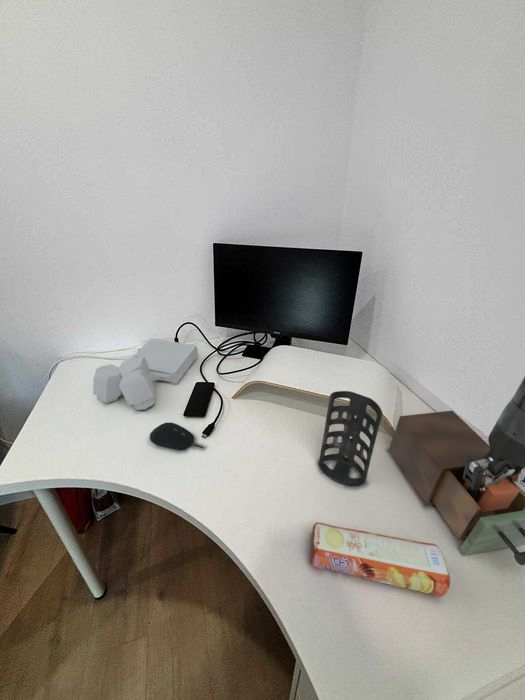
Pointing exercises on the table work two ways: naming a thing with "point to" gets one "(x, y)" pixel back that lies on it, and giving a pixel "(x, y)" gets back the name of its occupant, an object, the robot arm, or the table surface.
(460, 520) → the drawer
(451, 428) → the cabinet
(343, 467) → the holder
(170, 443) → the gaming mouse
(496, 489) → the block
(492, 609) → the table surface
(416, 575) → the snack package
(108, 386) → the game console
